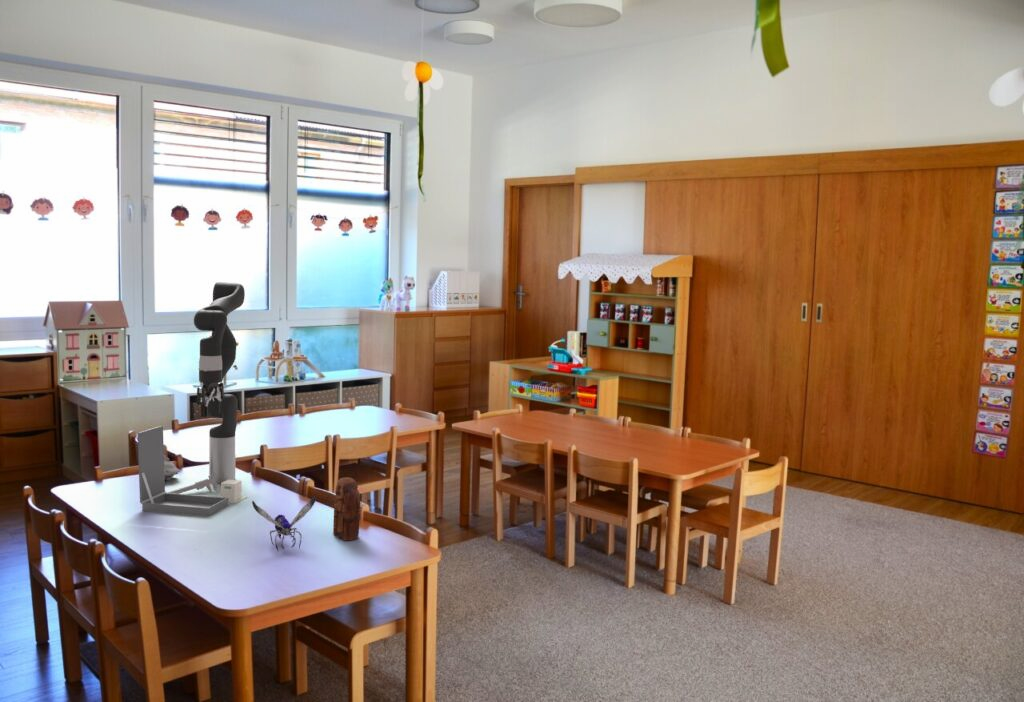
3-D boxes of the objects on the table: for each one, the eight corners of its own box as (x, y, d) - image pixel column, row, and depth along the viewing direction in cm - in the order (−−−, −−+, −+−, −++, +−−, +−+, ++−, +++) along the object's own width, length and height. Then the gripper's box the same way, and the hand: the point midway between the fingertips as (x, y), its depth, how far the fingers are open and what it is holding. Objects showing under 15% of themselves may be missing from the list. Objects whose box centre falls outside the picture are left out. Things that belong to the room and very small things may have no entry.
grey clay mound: (154, 483, 313) (158, 455, 315) (183, 485, 312) (187, 457, 314) (137, 482, 301) (142, 453, 303) (168, 483, 300) (172, 454, 302)
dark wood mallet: (327, 532, 254) (328, 475, 253) (346, 528, 258) (347, 473, 257) (344, 542, 245) (345, 484, 243) (363, 539, 249) (365, 481, 247)
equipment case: (160, 500, 281) (160, 425, 278) (228, 506, 277) (228, 430, 275) (137, 511, 268) (137, 432, 265) (208, 517, 264) (208, 437, 262)
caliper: (215, 491, 297) (215, 473, 296) (216, 491, 296) (216, 474, 295) (155, 499, 284) (155, 481, 283) (156, 499, 283) (156, 481, 282)
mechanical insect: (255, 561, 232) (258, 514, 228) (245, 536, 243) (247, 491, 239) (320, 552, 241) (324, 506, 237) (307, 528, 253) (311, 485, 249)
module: (227, 496, 287) (228, 479, 287) (241, 497, 287) (241, 480, 286) (220, 500, 282) (220, 483, 282) (234, 501, 282) (234, 484, 281)
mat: (225, 496, 289) (225, 494, 289) (247, 498, 288) (247, 496, 288) (214, 502, 281) (214, 500, 281) (236, 504, 280) (236, 502, 280)
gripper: (210, 365, 289) (210, 410, 290) (189, 370, 275) (189, 417, 276) (230, 366, 288) (230, 411, 289) (210, 371, 274) (210, 418, 275)
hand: (210, 414), depth 283 cm, fingers open, 8 cm apart
